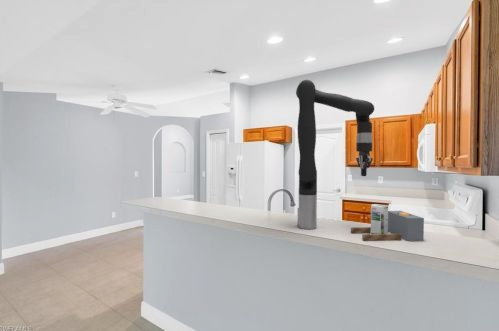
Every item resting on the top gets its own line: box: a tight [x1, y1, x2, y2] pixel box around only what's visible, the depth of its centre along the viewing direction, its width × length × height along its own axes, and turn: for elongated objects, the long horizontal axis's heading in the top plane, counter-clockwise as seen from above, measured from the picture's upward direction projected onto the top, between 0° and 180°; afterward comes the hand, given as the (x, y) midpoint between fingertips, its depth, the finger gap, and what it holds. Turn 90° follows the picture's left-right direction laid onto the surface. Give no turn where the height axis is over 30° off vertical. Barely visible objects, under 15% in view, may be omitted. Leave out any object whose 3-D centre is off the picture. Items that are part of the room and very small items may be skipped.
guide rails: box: [350, 226, 402, 242], centre depth 123 cm, size 17×13×2 cm
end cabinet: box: [388, 210, 425, 242], centre depth 124 cm, size 7×16×10 cm, turn 4°
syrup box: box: [370, 203, 389, 234], centre depth 123 cm, size 6×6×14 cm
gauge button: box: [399, 211, 410, 216], centre depth 123 cm, size 4×4×4 cm
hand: (363, 176), depth 136 cm, fingers closed
